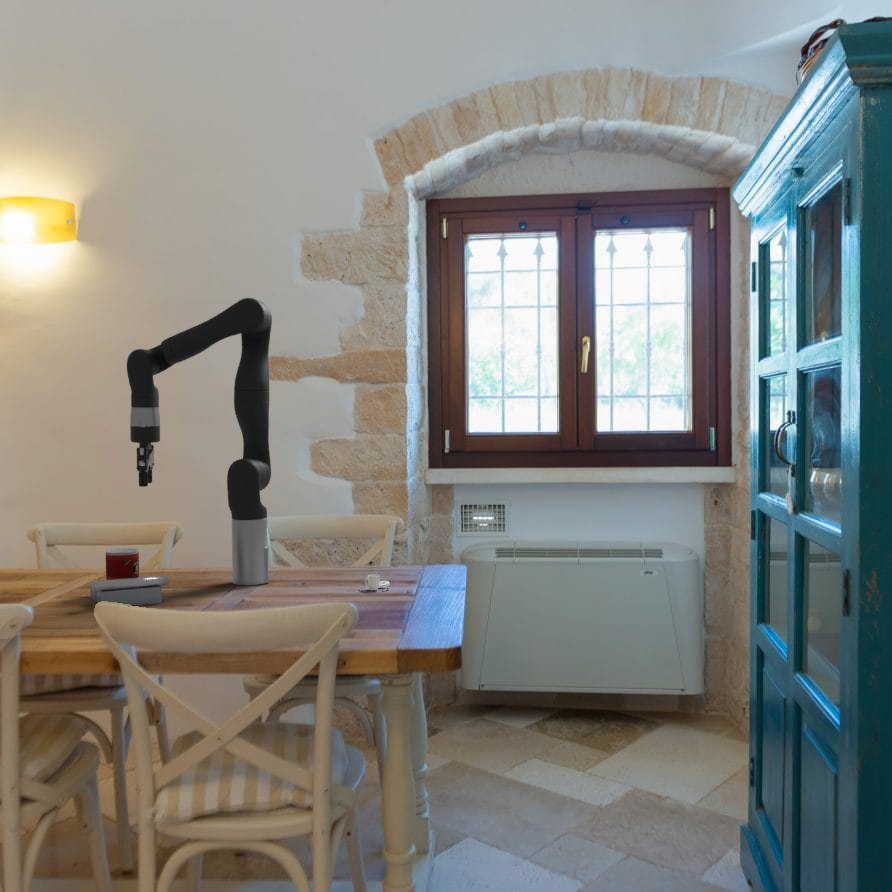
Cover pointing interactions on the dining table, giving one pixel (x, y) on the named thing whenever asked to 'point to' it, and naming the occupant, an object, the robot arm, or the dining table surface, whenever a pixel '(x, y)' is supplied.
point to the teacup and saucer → (375, 582)
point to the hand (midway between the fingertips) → (145, 484)
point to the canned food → (122, 563)
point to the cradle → (129, 590)
